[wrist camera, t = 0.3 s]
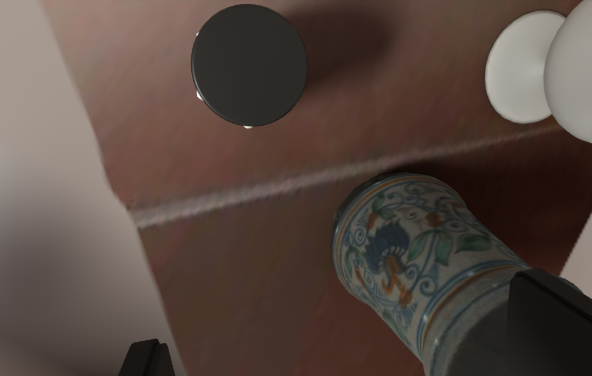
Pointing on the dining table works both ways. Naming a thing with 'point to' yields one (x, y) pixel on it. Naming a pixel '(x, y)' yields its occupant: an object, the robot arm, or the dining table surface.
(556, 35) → the chalice
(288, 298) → the dining table surface
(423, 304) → the beer stein
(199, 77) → the jar
